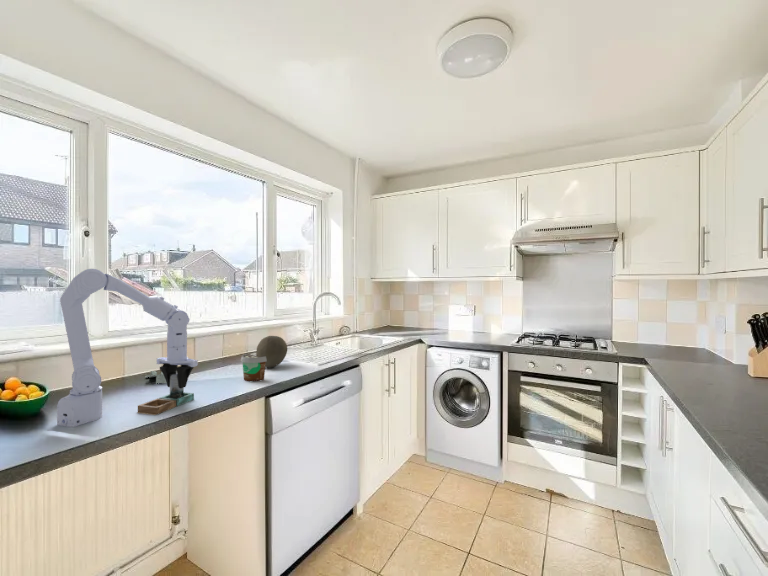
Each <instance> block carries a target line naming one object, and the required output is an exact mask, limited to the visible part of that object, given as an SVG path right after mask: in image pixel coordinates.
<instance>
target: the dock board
mask: <svg viewBox="0 0 768 576" xmlns="http://www.w3.org/2000/svg"><path fill="white" fill-rule="evenodd" d="M193 400H195V394H194V392H184V396H183V397H181V398H178V399H173V398H170V393H169V394H166V395H163V396H161V397H158V398H155V399H151V400H149V401H147V402H144V403H141V404H138V405H137V412H136V414H143V415H151V416H156V415H159V414H162V413H163V412H167V411H169V410H171V409H174V408H176V407H179V406H181V405H184V404H186V403H189V402H191V401H193Z"/></svg>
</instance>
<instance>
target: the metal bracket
mask: <svg viewBox="0 0 768 576" xmlns="http://www.w3.org/2000/svg"><path fill="white" fill-rule="evenodd" d="M176 372H177V371H176ZM148 377H149V378H155V384H156V385H158V384H159V383H164V384H167V382H166V379H165V377H164V375H163V373H162V371H161V372H160V374H158V372H157V371H154V370H150V374H149V375H145V376H144V378H146V379H147V378H148ZM157 383H158V384H157Z"/></svg>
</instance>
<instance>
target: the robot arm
mask: <svg viewBox="0 0 768 576" xmlns="http://www.w3.org/2000/svg"><path fill="white" fill-rule="evenodd" d="M99 290H103V291H110V292H115V293H118V294H120V295H123V296H124V297H126V298H129V299H130V300H132V301H134V302H136V303H138V304H140V305H142V310H143V312H146V314H149V315H150V316H153V317H154V318H156V319H158V320H160V321H162V322H165V323H166V325H167V332H166V336H167V337H166V357H164V356H163V357H158V358H156V365H161V366H159V370H160V371H161V372H162V373H163V375H164V378H165V379H166V382H167V383H166V385H167V388H170V374H171V373H174V372H176V371H177V374H178V379H179V388H184V389H185V388H186V386H187V384H188V380H189V377H190V375H191V373H192V371H193V370H194V368H195V367H197V366H198V362H199V361H198V359H193V358H190V357H188V332H187V331H188V330H187V329H188V326H187V325H189V323H190V318H189V314H188V313H187V312H186V311H184V310H182V309H179V307H178V305H175V304H174V305H172V304H171V303H170V302H167V301H166V300H165V297H163V296H161V295H159V296H157V295H152V296H148V295H147V294H145V293H143V292H142V291H141V290H138V289H137V288H135V287H133V286H132V285H130V284H129V283H127V282H125V281H123V280H122V279H121V278H118V277H116V276H113V275H111V274H108V273H104V272H103V271H102V270H100V269H98V268H88V269H84V270H83V271H81V272H79V273H78V274H77V275H75V276H74V277H73V278H72V279H71V281H70V283H69V284H68V286H67V287H66V288H65V290H64V292H63V293H62V295H61V296H60V297H59V298H60V299H59V301H60V307H61V311H62V316H63V321H64V325H65V331H66V337H67V341H68V346H69V351H70V357H71V361H72V365H73V366H72V368H73V372H72V374H71V387H72V388H71V389H70V390H69V394H68V395H66V396H63V397H61V398H60V399H59V400H58V402H57V406H56V410H57V411H56V414H57V415H56V425H57V426H62V427H63V426H64V427H69V428H75V427H78V426H81V425H83V424H86V423H90V422H94V421H97V420H100V419H101V418H102V417H103V386H101V383H102V377H101V375H100V371H99V368H97V367H96V365H95V363H94V358H93V353H92V349H91V343H90V338H89V332H88V328H87V323H86V317H85V313H84V308H83V307H84V306H83V303H84V302H86V300H87V299H88V298H89V297H91V295H92V294H94V293H97V292H98V291H99Z"/></svg>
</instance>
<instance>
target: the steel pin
mask: <svg viewBox="0 0 768 576" xmlns="http://www.w3.org/2000/svg"><path fill="white" fill-rule="evenodd" d="M184 389H185V387H184V388H179V379H178V374H177V372H174V373H171V374H170V387H169V394H170V398H173V399H178V398H181V397H183V396H184Z"/></svg>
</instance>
